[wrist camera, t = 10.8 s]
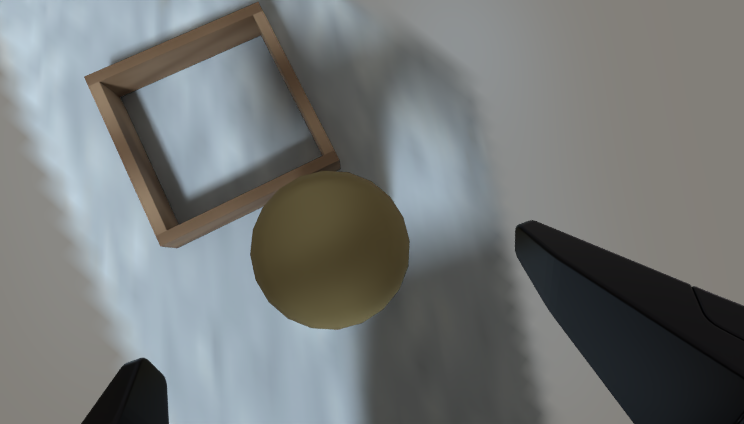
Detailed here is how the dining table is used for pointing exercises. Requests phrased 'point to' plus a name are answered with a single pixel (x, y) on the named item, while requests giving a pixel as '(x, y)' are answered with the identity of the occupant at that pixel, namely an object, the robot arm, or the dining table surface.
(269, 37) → the frame
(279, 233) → the cork
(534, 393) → the dining table surface
